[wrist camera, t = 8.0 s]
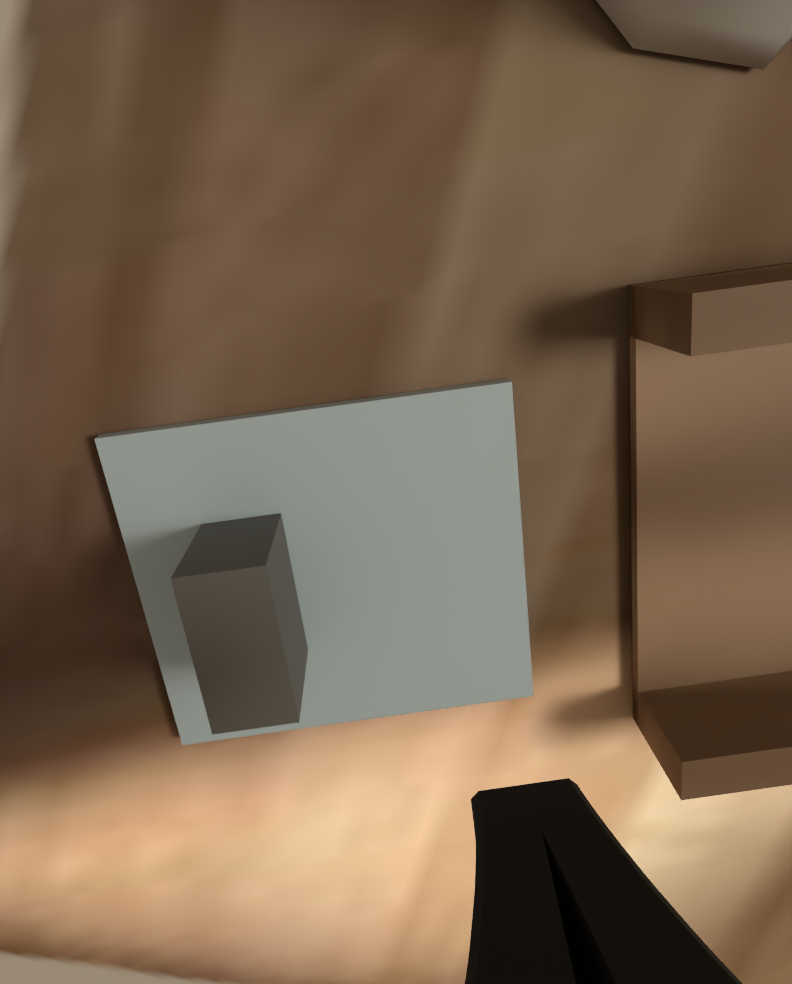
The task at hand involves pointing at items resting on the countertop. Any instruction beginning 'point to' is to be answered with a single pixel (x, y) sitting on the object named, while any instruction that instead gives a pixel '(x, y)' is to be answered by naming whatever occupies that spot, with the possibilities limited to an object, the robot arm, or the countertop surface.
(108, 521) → the countertop surface
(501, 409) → the cover plate
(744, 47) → the flask
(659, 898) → the robot arm
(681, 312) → the box
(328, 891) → the countertop surface
